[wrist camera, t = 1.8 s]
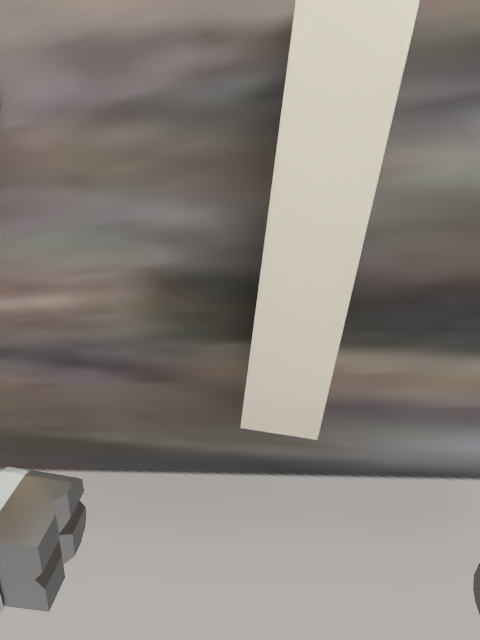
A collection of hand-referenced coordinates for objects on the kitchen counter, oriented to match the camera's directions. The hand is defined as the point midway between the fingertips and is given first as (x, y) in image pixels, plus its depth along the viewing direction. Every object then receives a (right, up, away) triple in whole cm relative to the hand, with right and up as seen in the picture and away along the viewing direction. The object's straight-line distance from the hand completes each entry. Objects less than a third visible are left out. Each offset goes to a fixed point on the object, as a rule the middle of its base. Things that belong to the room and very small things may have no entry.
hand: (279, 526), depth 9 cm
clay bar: (+2, +8, +11) cm, 14 cm away
